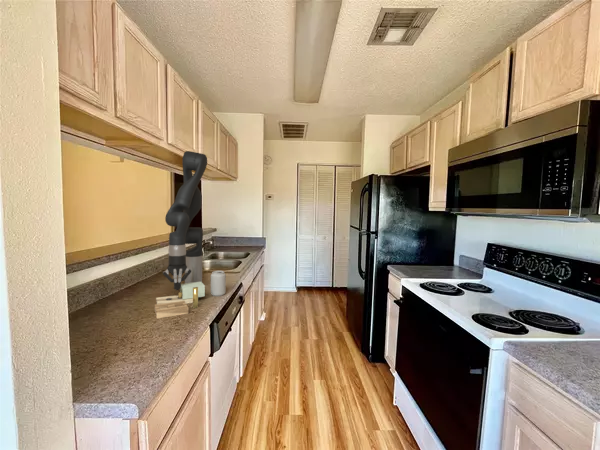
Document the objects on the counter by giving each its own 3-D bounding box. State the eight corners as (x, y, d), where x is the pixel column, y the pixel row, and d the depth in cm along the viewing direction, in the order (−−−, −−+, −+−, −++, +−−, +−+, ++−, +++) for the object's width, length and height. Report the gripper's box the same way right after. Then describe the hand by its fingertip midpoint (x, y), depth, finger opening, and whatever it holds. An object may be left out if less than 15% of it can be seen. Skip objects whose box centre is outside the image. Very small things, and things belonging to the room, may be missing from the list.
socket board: (154, 310, 121) (154, 304, 121) (184, 306, 127) (184, 300, 127) (156, 318, 112) (156, 312, 112) (188, 313, 119) (188, 307, 118)
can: (227, 292, 148) (227, 270, 148) (222, 297, 141) (222, 273, 140) (214, 291, 149) (214, 269, 148) (208, 296, 142) (208, 272, 141)
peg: (192, 307, 126) (192, 287, 126) (197, 306, 127) (197, 286, 127) (193, 308, 124) (193, 288, 124) (198, 307, 125) (198, 288, 125)
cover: (179, 294, 137) (179, 283, 137) (201, 291, 142) (201, 281, 142) (182, 299, 130) (182, 288, 130) (204, 296, 136) (204, 285, 135)
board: (156, 300, 133) (156, 292, 132) (189, 296, 140) (189, 288, 140) (158, 307, 124) (157, 298, 124) (193, 302, 132) (193, 294, 132)
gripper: (190, 251, 138) (190, 286, 139) (161, 253, 131) (161, 289, 132) (193, 254, 132) (193, 290, 133) (162, 256, 125) (162, 294, 126)
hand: (177, 289), depth 133 cm, fingers closed
